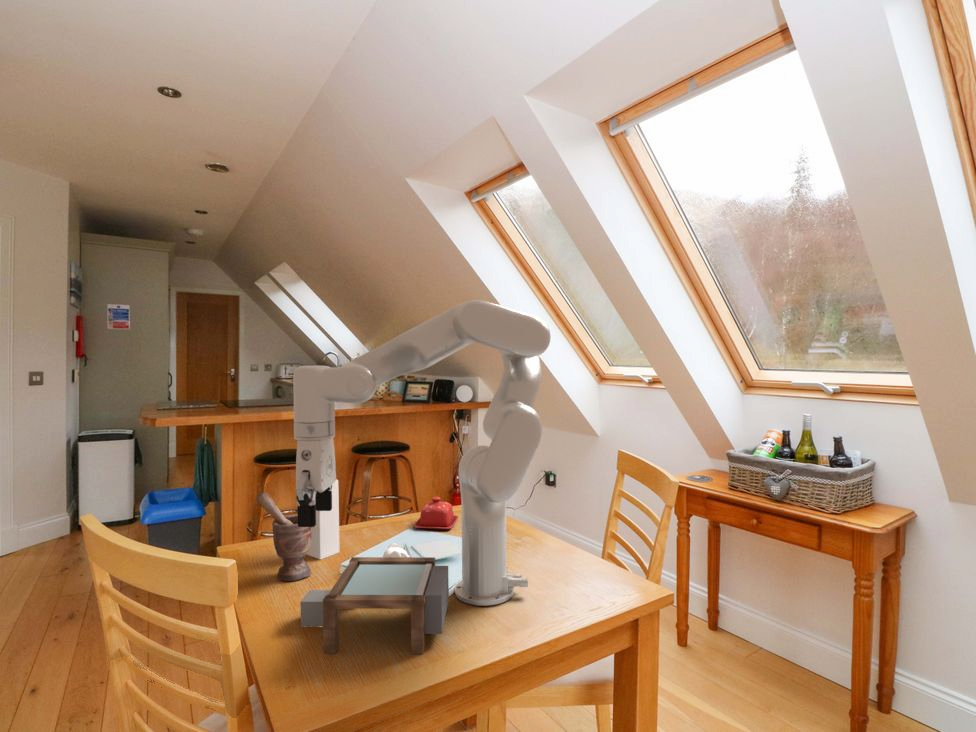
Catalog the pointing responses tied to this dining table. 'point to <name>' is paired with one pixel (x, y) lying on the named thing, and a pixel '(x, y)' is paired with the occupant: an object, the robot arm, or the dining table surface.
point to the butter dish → (436, 515)
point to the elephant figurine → (395, 551)
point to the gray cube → (313, 608)
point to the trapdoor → (406, 587)
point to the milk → (326, 529)
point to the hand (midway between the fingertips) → (315, 518)
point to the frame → (373, 602)
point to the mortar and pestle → (288, 541)
